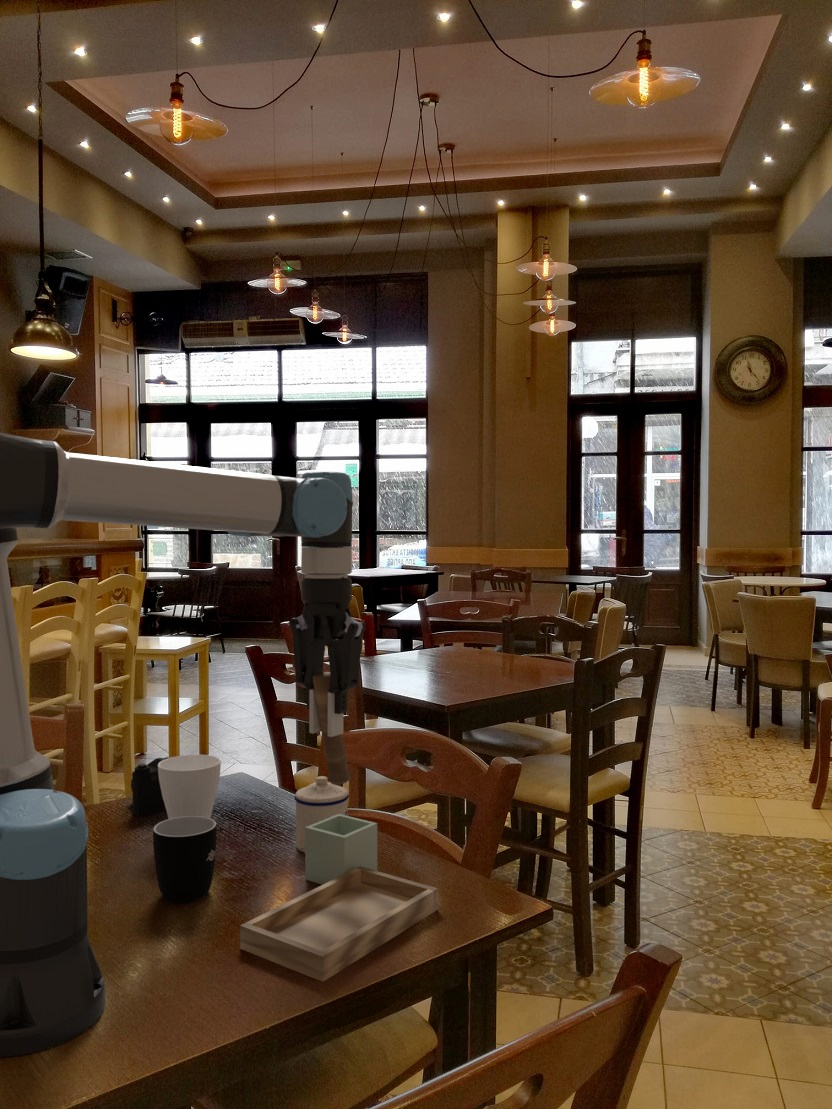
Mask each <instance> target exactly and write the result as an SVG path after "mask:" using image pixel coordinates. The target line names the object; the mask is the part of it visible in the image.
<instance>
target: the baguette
mask: <svg viewBox="0 0 832 1109" xmlns="http://www.w3.org/2000/svg"><path fill="white" fill-rule="evenodd" d="M312 678H313V684H314V690H315V696H316V701H317V707H318V713H319V719H320V725H321V735H322V742H323V748H324V754H325V759H326V765H327V771H328V777H329V782H330V783H331V784H333V785H337V786H341V785H344V784H346V783H348V782H349V781H350V773H349V767H348V761H347V760H348V759H347V753H346V747H345V742H344V736H343V734H340V735H336V736H333V737H329V736H328V692H329V689H332V683H331V674H330V671H322V672H321V673H318V674H315V675H314V676H313V677H312Z"/></svg>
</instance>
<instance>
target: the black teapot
mask: <svg viewBox="0 0 832 1109" xmlns="http://www.w3.org/2000/svg"><path fill="white" fill-rule="evenodd" d="M168 758H170V757H168V756H166V757H157V758H154V759H153V760H152V761H150V762H149V763H148V764H146V763H140V764H138V765H137V766H135V767H134V771H132V772H131V781H130V789H131V793H132V795H131V796H132V815H133V816H134V817H136V818H137V817H138V818H145V817H149V816H155V815H157V814H163V813H167V810H166V807H165V804H164V800H163V797H162V792H161V787H160V782H159V775H158V764H159V762H161V761H162V760H165V759H168Z"/></svg>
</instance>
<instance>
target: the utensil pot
mask: <svg viewBox="0 0 832 1109" xmlns="http://www.w3.org/2000/svg"><path fill="white" fill-rule="evenodd" d="M304 854H305V855H304V857H305V858H304V859H305V860H304V863H305V864H304V868H305V873H304V874H305V877H304V878H305V880H306V881H310V882H313V883H316V884H319V885H323V884H325V883H327V882H329V881H331V880H333V879H335V878H337V877H339V876H341V875H343V874H345V873H347V872H349V871H352V870H354V869H356V868H358V867H360V866H361V867H365V868H368V869H372V870H375V871H378V822H374V821H369V820H365V819H361V818H356V817H353V816H349V815H348V816H346V815H342V814H337V815H334V816H332V817H329V818H327V819H325V820H322V821H320V822H317V823H315V824H312V825H310V826H307V827H305V853H304Z"/></svg>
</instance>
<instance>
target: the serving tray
mask: <svg viewBox="0 0 832 1109" xmlns="http://www.w3.org/2000/svg"><path fill="white" fill-rule="evenodd" d="M438 889H439V888H438V887H434V886H430V885H428V884H424V883H419V882H417V881H413V880H409V879H405V878H403V877H399V876H395V875H392V874H389V873H385V872H381V871H379V870H377V871H375V870H372V869H368V868H365V867H361V866H360V867H358V868H356V869H354V870H352V871H349V872H347V873H345V874H343V875H341V876H339V877H337V878H335V879H333V880H331V881H329V882H327V883H325V884H323V885H322V884H320V886H317V887H315V888H313V889H311V890H309V891H307V892H305V893H303V894H300V895H299V896H297V897H295V898H293V899H291V900H288V901H287V902H285V903H283V904H280V905H278V906H276V907H275V908H272V909H270V910H269V911H266V912H264V913H262V914H260V915H258V916H257V917H255V918H253V919H251V920H248V921H246V922H244V923H242V924H240V925H239V937H240V938H239V941H240V942H239V943H240V944H239V945H240V947H239V948H240V949H241V950H242V951H245V952H247V953H249V954H252V955H255V956H258V957H260V958H262V959H265V960H267V961H270V962H272V963H274V964H277V965H280V966H282V967H284V968H287V969H290V970H293V971H295V972H298V973H299V974H302V975H305V976H308V977H310V978H312V979H314V980H316V981H320V982H322V983H323V982H326V980H329V979H330V978H332V977H333V976H335V975H336V974H338V973H339V972H341V971H343V970H344V969H346V968H347V967H349V966H351V965H352V964H353V963H355V962H357V961H358V960H361V959H362V958H363V957H365V956H366V955H369V954H370V953H371V952H373V951H375V950H376V949H378V948H379V947H381V946H382V945H384V944H385V943H387V942H389V941H390V940H392V939H393V938H395V937H397V936H399V935H400V934H402V933H403V932H405V931H406V930H407V929H410V928H411V927H413V926H414V925H416V924H417V923H419V922H421V921H422V920H424V919H425V918H427V917H428V916H430V915H432V914H433V913H435V912H436V911H438V910H439V890H438Z"/></svg>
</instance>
